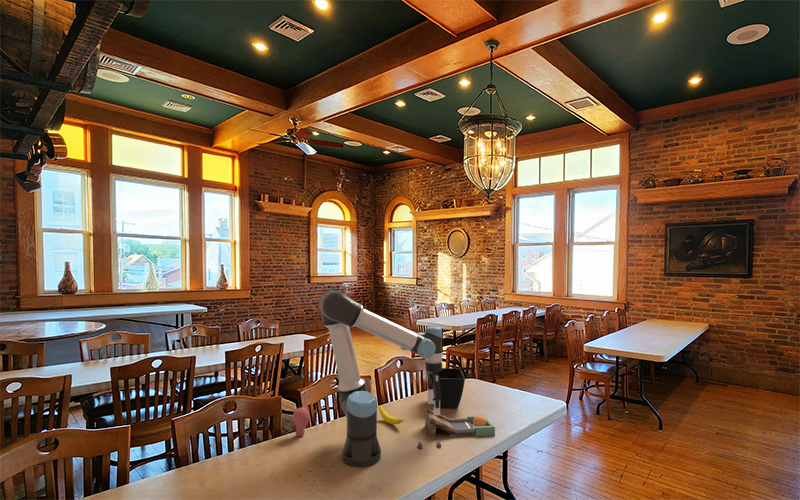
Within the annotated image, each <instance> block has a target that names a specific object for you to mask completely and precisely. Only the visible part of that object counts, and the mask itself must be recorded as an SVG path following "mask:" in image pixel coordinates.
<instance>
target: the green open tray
mask: <svg viewBox="0 0 800 500" xmlns="http://www.w3.org/2000/svg"><path fill="white" fill-rule="evenodd" d="M481 415H482V416H484V417H485V419H486V422H487V423H486V426H479V427H475V426H474V424H473V419H474V417H475V416H476V415H467V416H466V418H468V419H470V423H471V424H472V426H473V427H474V428H475V435H474V436H475V437H480V436H482V437H483V436H495V435H496V427H495V425H494V424H493V423H492V422H491V420H490V419H489V418H488V417H487V416H486V414H481Z"/></svg>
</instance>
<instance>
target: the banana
mask: <svg viewBox="0 0 800 500" xmlns="http://www.w3.org/2000/svg"><path fill="white" fill-rule="evenodd" d="M378 409H379V413H380V416H381V418H382V420H383V421H384V422H385V423H386V424H387V423H388V424H390V425H399V424H402V423H403V422H404V421H405V420H404V419H403V418H399V417H398V418H397V417H393V416H391V415H389V414H388V413H387V412H386V410H385V409H384V407H382V405H381V404H378Z"/></svg>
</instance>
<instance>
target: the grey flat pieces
mask: <svg viewBox="0 0 800 500" xmlns="http://www.w3.org/2000/svg"><path fill="white" fill-rule="evenodd" d="M417 443H418V444H417V446H418V448H419V449H423V443H422V442H421V441H418V442H417ZM436 445H437V447H438V449H439V448H440V449H441V448H442V443H441V441H439V440H437V441H436Z"/></svg>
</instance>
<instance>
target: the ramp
mask: <svg viewBox="0 0 800 500" xmlns="http://www.w3.org/2000/svg"><path fill="white" fill-rule="evenodd" d="M450 419H451V418H448V417H446V416H444V415H443V414H440V415H434V410H431V409H430V408H428V407H427V408H426V410H425V411H424V421H425V422H424V426H425V429H426V431H427V434H428V436H429V438H436V435H437V433H436V430H437V429H440V430H442V431H444V432H447V434H448V435H449V437H456V436H455V433H456V432H455V430H456V429H455V428H453V427H452V426H451V424H450V422H449V420H450ZM436 428H437V429H436Z"/></svg>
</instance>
